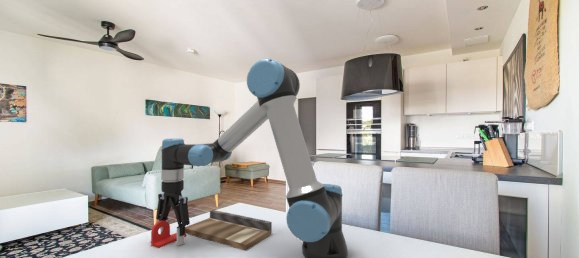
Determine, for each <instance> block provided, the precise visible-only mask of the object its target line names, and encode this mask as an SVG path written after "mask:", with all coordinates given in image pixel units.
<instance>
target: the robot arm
mask: <svg viewBox="0 0 579 258" xmlns="http://www.w3.org/2000/svg"><path fill="white" fill-rule="evenodd" d="M300 85H301V84H300V78H299V77H298V75H297V74H296V72H294V71H293V70H292V69H290V68H288V67H287V66H286V65H284V64H282V63H281V62H280V61H278V60H275V59H272V58H262V59H259V60H258V61H256V62H254V63H253V65H252V66H251V67H250V68H249V71H248V72H247V76H246V86H247V88H248V90H249V92H250V93H251V94H252V95H253V96H254V97H256V98H257V99H256V100H257V101H256V102H255V103H254V104H253V105H252V106H250V108H249V109H248V110H246V111H245V112H244V113H243V114H242V115H240V117H239V118H238V119H237V120H236V121H235V122H234V123H232V125H230V126H229V128H228V129H226V130H225V132H223V133H222V134H221V135H220V136H219V137H218V138H217V139H216V140H214V141H213V142H211V143H198V144H197V143H195V144H193V143H192V144H191V143H190V144H189V143H188V144H185V140H184V139H183V138H165V139H163V140H162V142H161V149H160V150H161V173H160V174H161V184H160V185H161V187H160V188H161V192H162V193H158V195H157V197H158V202H157V208H156V217H155V218H156V220H158V222H159V221H162V220H163V221H167V222H168V223H169V218H168V217H169V214H170V211H171V209H172V210H173V211H174V215H175V219H176V223H177V226H176V233H177V241H176V246H178V247H179V246H181V245H183V244H185V238H184V235H185V227H187V226H189V225H191V224H190V215H189V214H190V213H189V206H188V205H189V204H188V200H189V199H188V198H189V197H188V196H185V197H184V196H183V195H182V191H183V190H184V189H185V186H184V184H185V183H184V182H185V181H184V179H185V177H184V176H185V175H184V173H185V172H184V170H185V166H194V167H206V166H208V165H209V164H212V163H221V162H225V161H227V160H229V159H230V158H231V156H232V153H233V151H234V150H235V149H237V147H239V146H240V145H241V144H242V143H243V142H244V141H245V140H246V139H248V137H250V136H251V135H252V134H253V133H254V132H256V131H257V130H258V129H259V128H260V127H261V126H262V125H263V124H264V123H265V122H266V121H267V120H268V122H269V125H270V128H271V132H272V135H273V138H274V142H275V145H276V149H277V153H278V155H279V158H280V162H281V165H282V169H283V173H284V176H285V179H286V183H287V186H288V190H287V193H286V195H285V198H286V201H287V204H288V210H287V213H286V218H285V219H286V224H287V227H288V229H289V231H290V233H291V234H292V235H293V236H294V237H296V238H297V239H299V240H300V241H302V246H301V254H302V255H303V256H304V257H305V258H347V257H348V246H347V241H346V240H345V236H344V233H343V195H344V194H343V191H342V187H341V186H340V185H337V184H331V183H322V182H320V181H318V179H317V175H316V173H315V170H314V166H313V163H312V160H311V157H310V153H309V150H308V147H307V144H306V141H305V137H304V134H303V131H302V127H301V125H300V121H299V118H298V115H297V111H296V109H295V106H294V105H295V103H296V101H297V96H298V94H299V92H300ZM159 230H160V234H161V233H162V232H163V227H161V228H160V229H159Z"/></svg>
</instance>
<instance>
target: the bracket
mask: <svg viewBox="0 0 579 258" xmlns="http://www.w3.org/2000/svg"><path fill="white" fill-rule="evenodd" d="M167 221H168V220H166V221H163V220H162V221H159V220H158V221H157V222H156V223H155V224H154V225H153V226H152V228H151V231H150V232H151V233H150V238H151V239H150V246H151V247H153V248H157V249H161V248H163V247H166V246H167V245H170V244H173V243H176V242H177V232H174V233H172V234H171V226H170V223H169V221H168V222H167ZM161 227H163V232H162V233H161V232H160V233H159V230H160V228H161ZM186 237H187V234H186V233H185V235H184V239H185V238H186Z"/></svg>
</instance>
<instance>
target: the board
mask: <svg viewBox="0 0 579 258" xmlns="http://www.w3.org/2000/svg"><path fill="white" fill-rule="evenodd" d="M272 222H273V221H269V220H264V219H261V218H260V219H259V218H253V217H250V216H246V215H245V216H244V215H240V214H234V213H229V212H226V211H222V210H221V211H220V210H216V209H212V210H209V217H208V218H206V219H202V220H200V221H198V222H195V223H193V224H189V225H186V226H185V233H186V235H191V236H194V237H197V238H201V239H204V240H208V241H211V242H214V243H218V244H220V245H221V244H222V245H225V246H228V247H233V248H234V249H235V248H236V249H239V250H243V251H248V250H249V249H251V248H252V247H254V246H255V245H257V244H259V243H260V242H262V241H264V240H265V239H267V238H269V237H271V235H272V234H273V233H272V231H273V229H272V228H273V227H272Z"/></svg>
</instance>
